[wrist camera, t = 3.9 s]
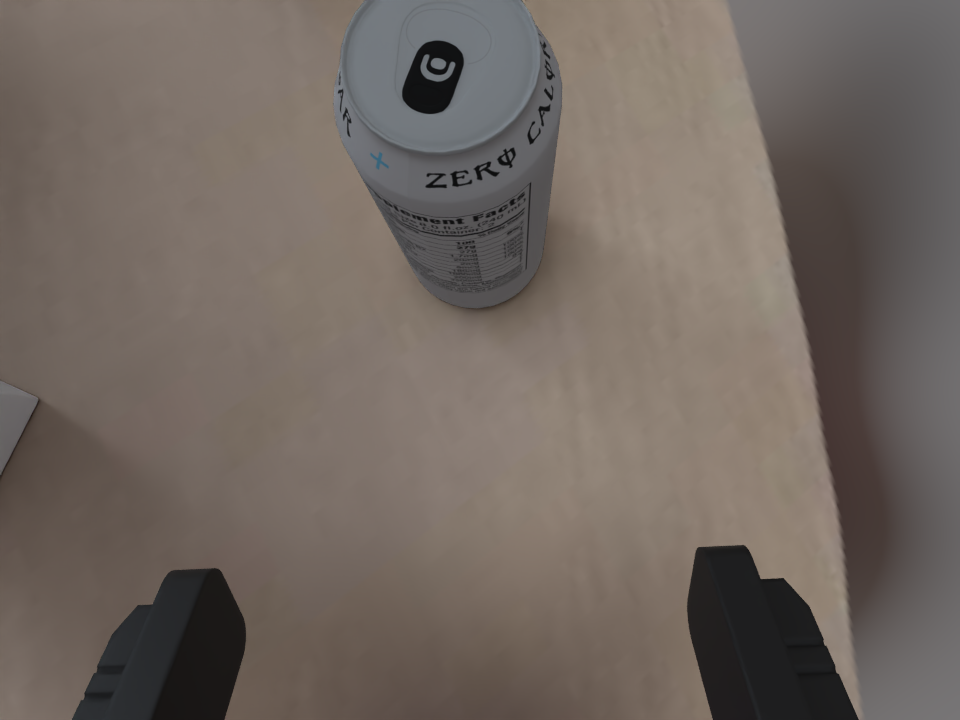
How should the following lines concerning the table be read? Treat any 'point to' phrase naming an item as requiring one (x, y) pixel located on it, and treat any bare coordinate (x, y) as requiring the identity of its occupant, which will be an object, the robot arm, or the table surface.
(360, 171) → the energy drink can
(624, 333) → the table surface
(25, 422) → the milk
